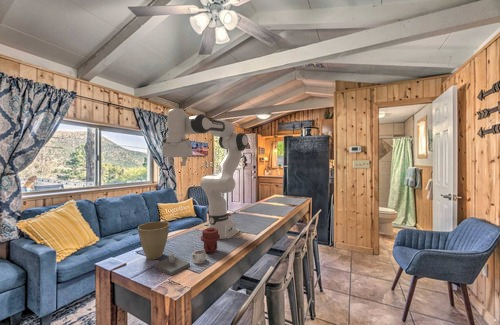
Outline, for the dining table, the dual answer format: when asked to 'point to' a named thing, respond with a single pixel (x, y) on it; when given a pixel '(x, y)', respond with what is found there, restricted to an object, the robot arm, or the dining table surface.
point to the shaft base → (171, 265)
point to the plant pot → (153, 238)
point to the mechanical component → (210, 239)
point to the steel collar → (198, 256)
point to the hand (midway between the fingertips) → (177, 165)
